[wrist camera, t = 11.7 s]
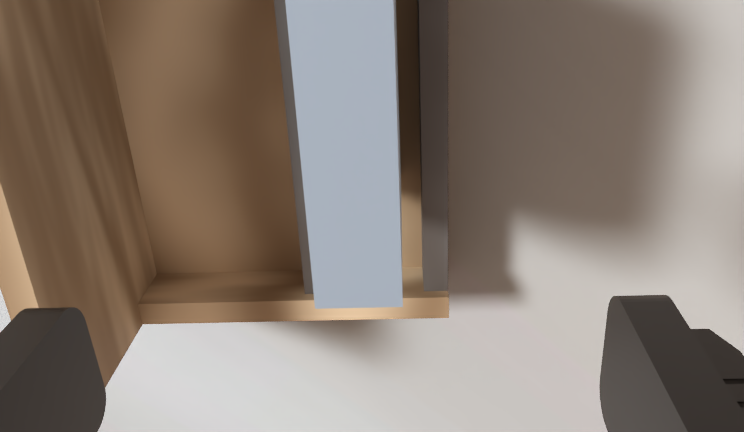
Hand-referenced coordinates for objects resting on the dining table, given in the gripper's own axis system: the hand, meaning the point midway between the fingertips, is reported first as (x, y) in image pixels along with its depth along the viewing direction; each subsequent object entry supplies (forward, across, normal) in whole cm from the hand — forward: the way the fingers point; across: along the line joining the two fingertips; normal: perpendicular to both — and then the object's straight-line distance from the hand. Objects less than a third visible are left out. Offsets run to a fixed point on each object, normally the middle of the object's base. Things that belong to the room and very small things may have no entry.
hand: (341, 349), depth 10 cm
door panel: (+18, +1, -1) cm, 18 cm away
